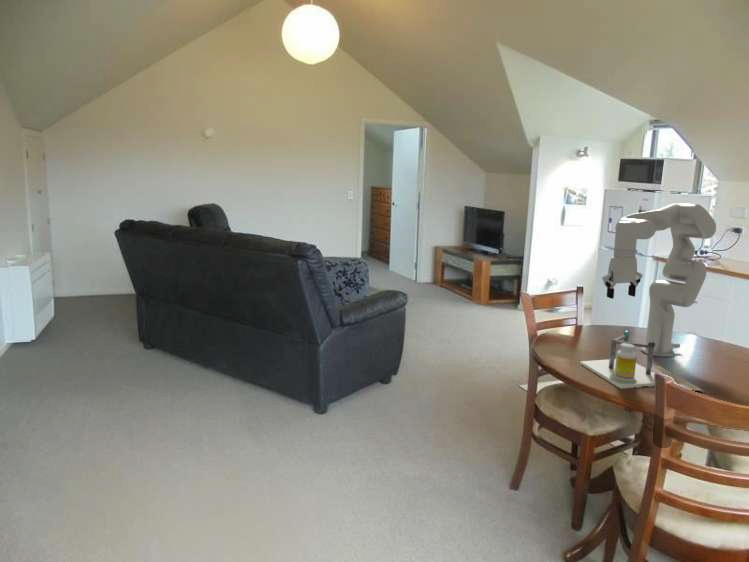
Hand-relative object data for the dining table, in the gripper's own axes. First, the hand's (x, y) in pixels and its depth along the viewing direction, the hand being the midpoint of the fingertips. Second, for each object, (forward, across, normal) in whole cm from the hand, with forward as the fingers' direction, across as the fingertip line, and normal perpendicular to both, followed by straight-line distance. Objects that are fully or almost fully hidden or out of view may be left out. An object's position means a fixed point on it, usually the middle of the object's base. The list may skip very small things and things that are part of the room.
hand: (620, 296), depth 205 cm
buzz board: (+28, +3, +9) cm, 30 cm away
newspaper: (+29, -11, +19) cm, 36 cm away
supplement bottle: (+26, +9, +16) cm, 32 cm away
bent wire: (+27, +1, +7) cm, 28 cm away
